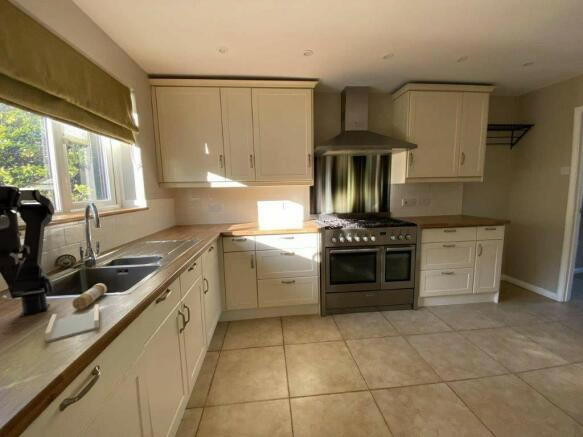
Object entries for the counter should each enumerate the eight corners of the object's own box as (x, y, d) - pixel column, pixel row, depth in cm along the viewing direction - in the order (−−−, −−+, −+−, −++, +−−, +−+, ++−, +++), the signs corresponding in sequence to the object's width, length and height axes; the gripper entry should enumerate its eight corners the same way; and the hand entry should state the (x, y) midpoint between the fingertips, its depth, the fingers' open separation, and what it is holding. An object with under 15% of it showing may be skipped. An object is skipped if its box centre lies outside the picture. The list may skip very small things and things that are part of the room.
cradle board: (53, 322, 75) (52, 314, 75) (99, 311, 81) (98, 304, 81) (45, 342, 65) (44, 333, 64) (99, 328, 71) (98, 319, 71)
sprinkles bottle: (82, 312, 83) (102, 296, 96) (90, 301, 83) (109, 286, 96) (68, 306, 82) (91, 290, 95) (76, 294, 82) (98, 280, 95)
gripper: (-29, 230, 71) (-21, 282, 73) (-62, 239, 56) (-51, 304, 58) (27, 226, 78) (33, 274, 80) (11, 233, 63) (18, 292, 65)
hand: (11, 285), depth 70 cm, fingers closed
